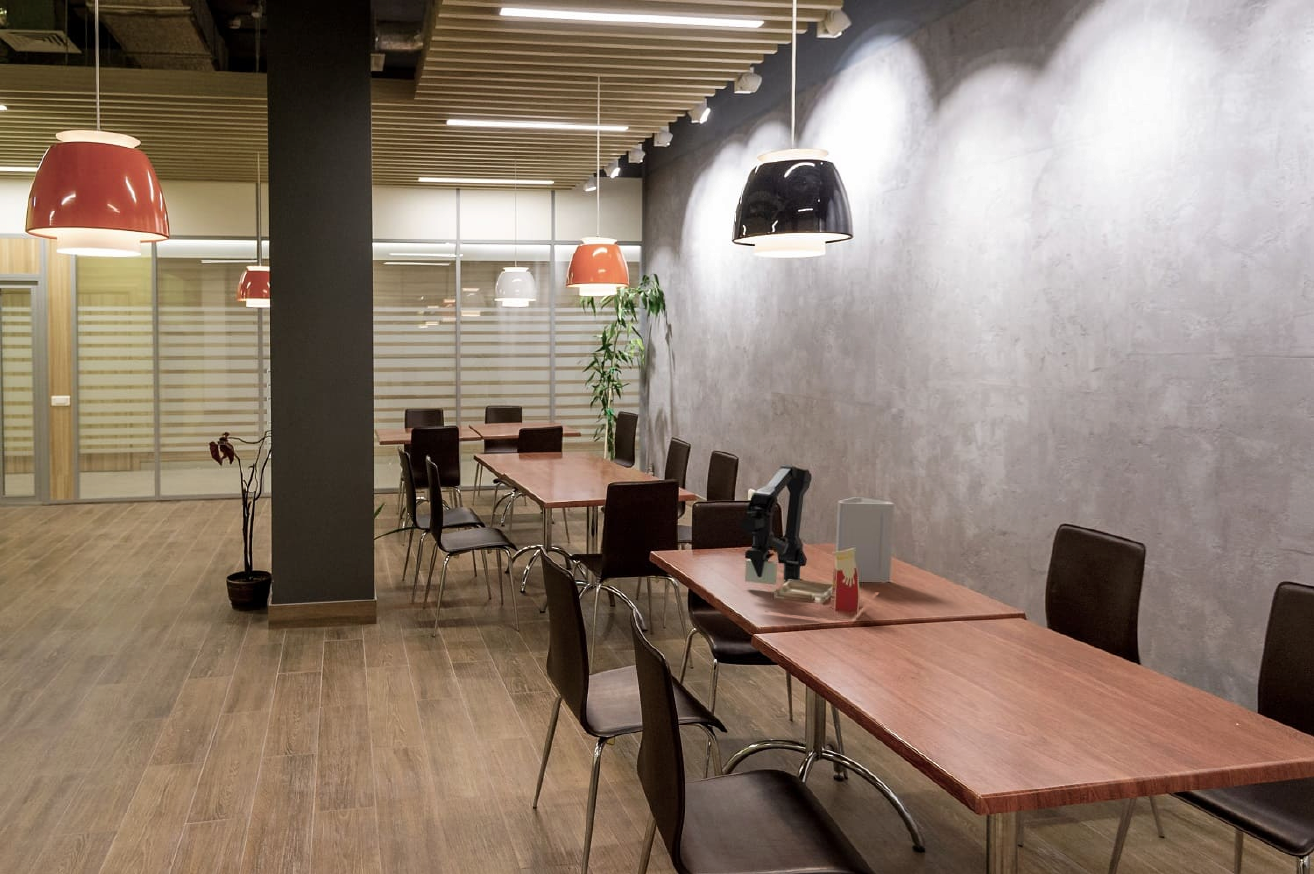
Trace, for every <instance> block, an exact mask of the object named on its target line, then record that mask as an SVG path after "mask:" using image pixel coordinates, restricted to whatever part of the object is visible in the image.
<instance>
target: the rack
mask: <svg viewBox="0 0 1314 874" xmlns="http://www.w3.org/2000/svg"><path fill="white" fill-rule="evenodd" d="M832 586H833V583H829V582H826V583H825V582H818V581H809V580H793V579H788V581H786V582H785V583H784V584H782V585H780V586H779V587H778V588H777V589H776V590H774V593H773V596H774V597H773V598H775V599H776V598H777V599H782V600H783V599H784V600H786V599H785V593H786V591H798V592H809V593H812V596H815V600H814V601H813V602H812V603H815V604H817V603H818V604H824V603H826V601H828V600H829V599H830V597H831V596H832ZM789 600H790V601H792V599H789ZM798 601H800V600H798ZM800 602H801V601H800ZM806 602H808V601H806Z"/></svg>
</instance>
